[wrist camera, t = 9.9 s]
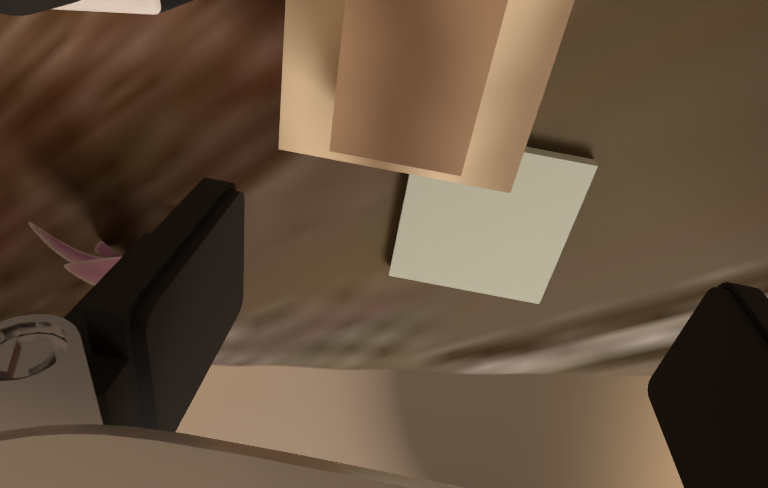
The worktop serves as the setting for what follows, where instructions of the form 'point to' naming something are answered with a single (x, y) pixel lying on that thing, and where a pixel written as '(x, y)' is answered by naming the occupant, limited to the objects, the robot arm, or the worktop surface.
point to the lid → (419, 83)
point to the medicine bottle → (88, 6)
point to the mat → (492, 228)
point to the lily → (81, 257)
